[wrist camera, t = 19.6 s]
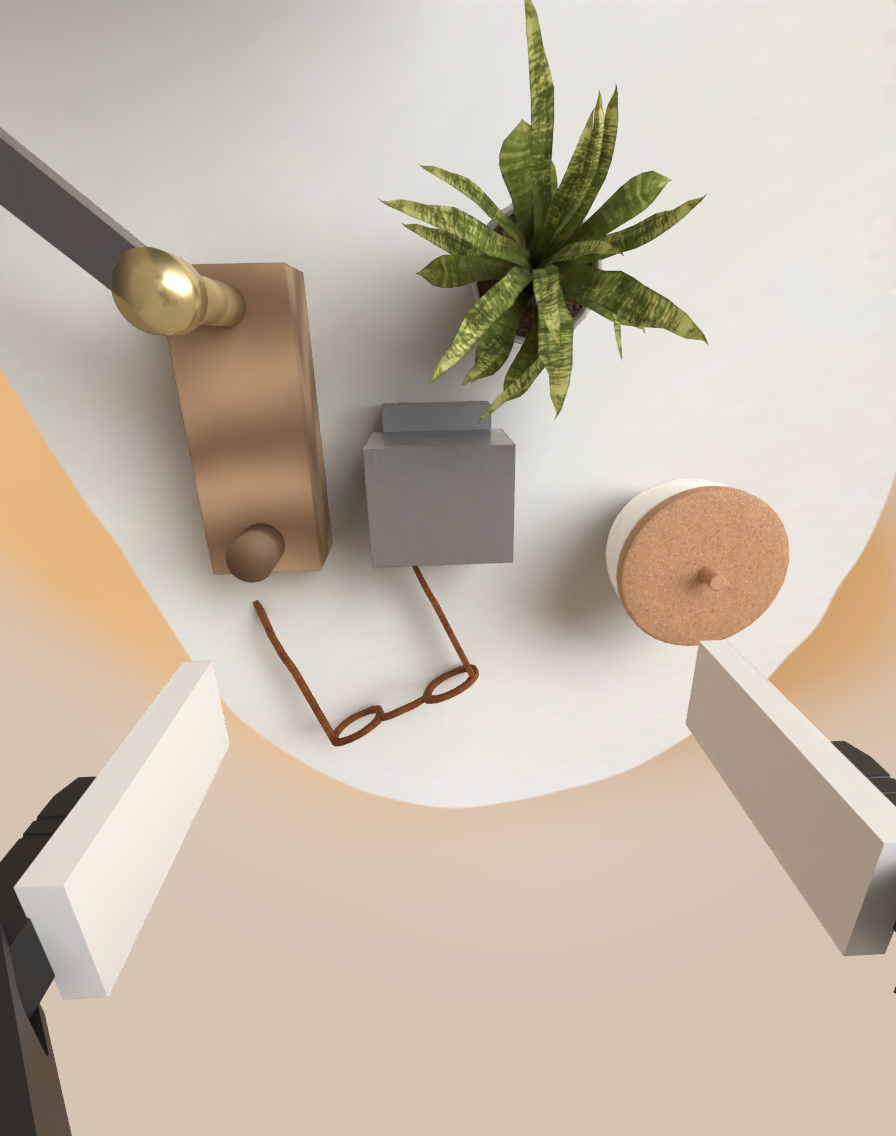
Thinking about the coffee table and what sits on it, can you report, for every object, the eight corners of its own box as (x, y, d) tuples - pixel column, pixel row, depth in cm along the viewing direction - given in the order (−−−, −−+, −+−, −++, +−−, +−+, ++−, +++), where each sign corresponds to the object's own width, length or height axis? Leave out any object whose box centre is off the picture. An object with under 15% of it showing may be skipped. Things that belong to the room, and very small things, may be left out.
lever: (222, 290, 24) (208, 286, 23) (183, 351, 25) (167, 351, 24) (-117, 11, 20) (-162, -17, 19) (-149, 93, 21) (-194, 74, 20)
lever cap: (372, 432, 36) (362, 449, 31) (501, 428, 37) (515, 444, 31) (379, 535, 39) (372, 567, 33) (500, 530, 39) (512, 562, 34)
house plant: (352, 194, 34) (293, 75, 18) (571, 84, 32) (704, -145, 17) (446, 420, 39) (460, 471, 24) (639, 334, 37) (787, 331, 22)
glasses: (340, 721, 48) (331, 761, 44) (254, 599, 44) (234, 630, 39) (478, 659, 46) (484, 694, 42) (403, 525, 42) (400, 548, 37)
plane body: (189, 275, 35) (78, 244, 24) (303, 272, 35) (246, 241, 24) (237, 548, 42) (168, 624, 30) (332, 544, 42) (298, 619, 31)
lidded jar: (591, 606, 45) (631, 671, 36) (583, 474, 41) (627, 511, 32) (726, 586, 44) (799, 647, 36) (732, 452, 40) (816, 482, 32)
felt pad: (383, 404, 38) (381, 407, 36) (487, 401, 38) (490, 404, 36) (392, 542, 42) (391, 554, 40) (486, 539, 42) (490, 551, 40)
